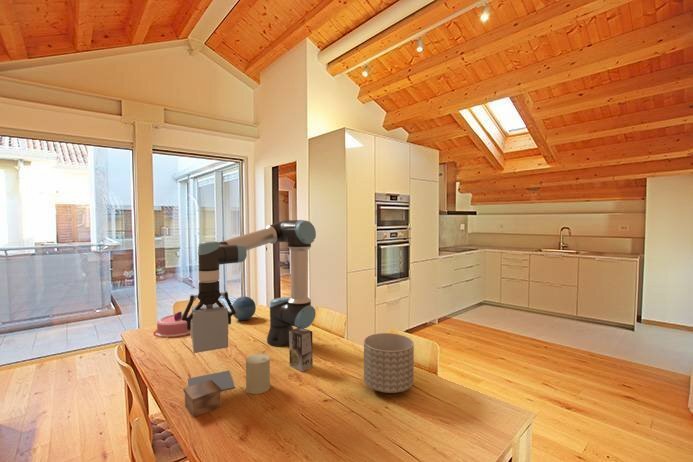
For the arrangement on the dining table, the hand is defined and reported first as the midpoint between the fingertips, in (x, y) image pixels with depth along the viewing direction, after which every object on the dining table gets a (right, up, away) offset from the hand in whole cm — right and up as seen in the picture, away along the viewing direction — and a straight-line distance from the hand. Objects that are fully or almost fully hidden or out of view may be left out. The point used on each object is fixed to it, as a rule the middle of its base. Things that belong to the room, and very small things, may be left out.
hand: (209, 335), depth 131 cm
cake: (-45, -18, +64) cm, 81 cm away
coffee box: (+34, -19, +16) cm, 42 cm away
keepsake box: (+4, -20, -15) cm, 26 cm away
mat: (0, -20, +1) cm, 20 cm away
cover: (0, -4, 0) cm, 4 cm away
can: (+20, -20, -3) cm, 28 cm away
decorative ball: (-12, -17, +84) cm, 87 cm away
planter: (+70, -20, -2) cm, 73 cm away
